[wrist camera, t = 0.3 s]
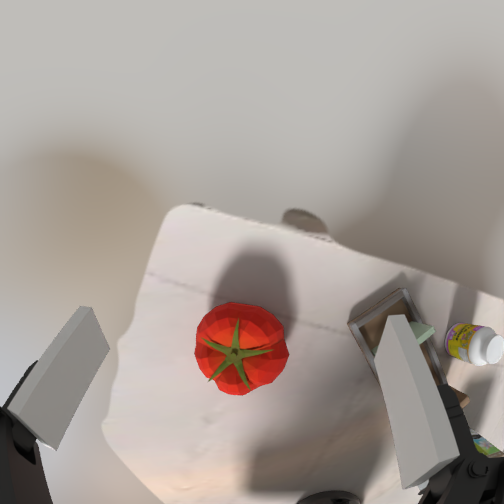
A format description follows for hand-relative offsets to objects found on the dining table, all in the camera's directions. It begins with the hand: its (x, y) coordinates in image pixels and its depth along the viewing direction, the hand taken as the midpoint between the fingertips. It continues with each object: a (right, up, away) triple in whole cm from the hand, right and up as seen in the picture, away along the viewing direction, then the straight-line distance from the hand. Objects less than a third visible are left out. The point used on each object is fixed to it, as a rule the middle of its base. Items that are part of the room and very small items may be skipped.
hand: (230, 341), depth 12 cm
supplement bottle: (+40, -13, +30) cm, 52 cm away
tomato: (0, -11, +35) cm, 36 cm away
